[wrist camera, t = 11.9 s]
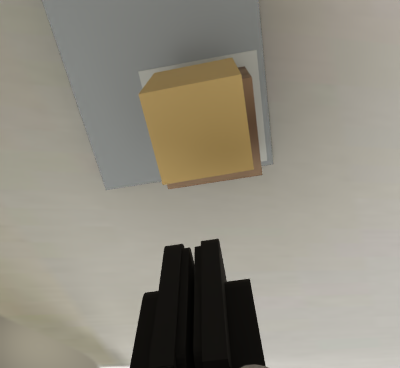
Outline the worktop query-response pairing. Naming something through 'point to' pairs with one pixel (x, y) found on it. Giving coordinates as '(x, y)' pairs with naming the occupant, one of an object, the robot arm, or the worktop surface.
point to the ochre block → (198, 121)
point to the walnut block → (253, 140)
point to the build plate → (148, 67)
